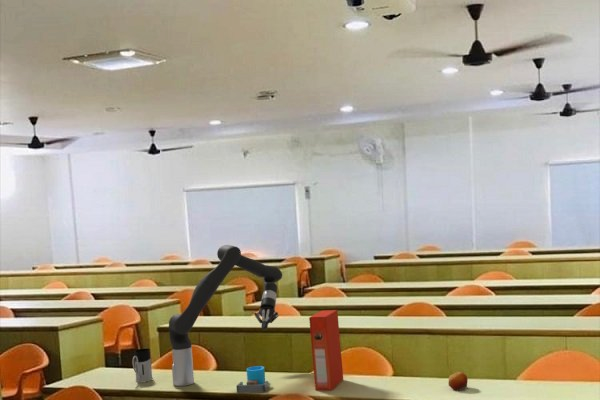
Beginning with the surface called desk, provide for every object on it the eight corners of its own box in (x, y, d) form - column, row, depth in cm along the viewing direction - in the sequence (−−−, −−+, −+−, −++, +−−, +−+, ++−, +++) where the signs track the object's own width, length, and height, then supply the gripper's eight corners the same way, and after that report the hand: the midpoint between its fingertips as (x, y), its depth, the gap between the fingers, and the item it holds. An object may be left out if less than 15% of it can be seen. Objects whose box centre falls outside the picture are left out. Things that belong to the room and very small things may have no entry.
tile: (247, 391, 291) (246, 382, 291) (249, 388, 295) (249, 380, 295) (255, 391, 290) (255, 382, 290) (258, 388, 294) (257, 379, 294)
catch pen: (236, 392, 290) (236, 385, 290) (241, 388, 296) (240, 381, 296) (265, 391, 287) (264, 385, 287) (268, 387, 294) (268, 381, 294)
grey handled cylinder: (156, 377, 329) (154, 348, 329) (142, 385, 315) (140, 354, 316) (140, 377, 331) (138, 348, 332) (126, 385, 318) (124, 354, 318)
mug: (260, 389, 293) (258, 370, 293) (244, 388, 296) (243, 370, 296) (272, 381, 304) (271, 364, 304) (257, 381, 307) (255, 363, 307)
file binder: (314, 390, 284) (309, 317, 284) (326, 379, 300) (321, 310, 301) (332, 390, 281) (326, 316, 282) (343, 379, 297) (338, 310, 298)
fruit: (469, 388, 263) (457, 371, 266) (453, 397, 267) (442, 380, 269) (475, 383, 270) (464, 366, 272) (460, 392, 274) (449, 375, 276)
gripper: (254, 297, 335) (249, 325, 323) (279, 296, 332) (275, 324, 320) (258, 305, 340) (253, 333, 328) (282, 305, 337) (278, 333, 325)
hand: (264, 329), depth 324 cm, fingers closed
